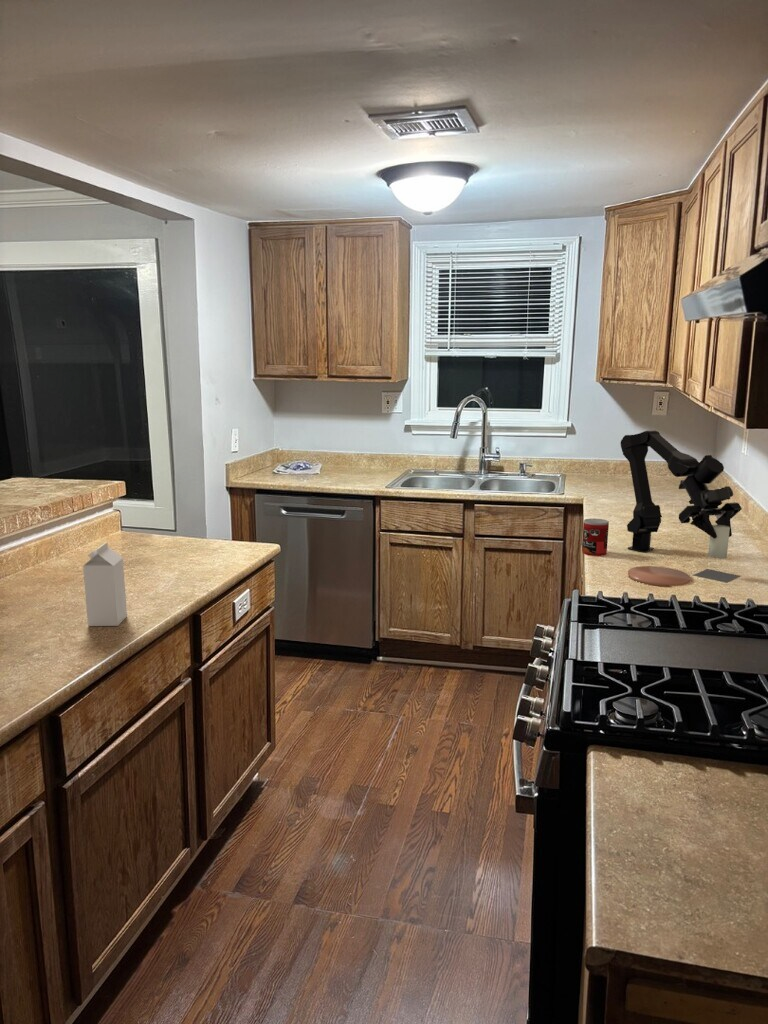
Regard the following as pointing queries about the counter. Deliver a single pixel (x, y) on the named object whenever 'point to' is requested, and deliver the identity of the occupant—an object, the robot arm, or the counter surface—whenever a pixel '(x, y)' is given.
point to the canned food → (595, 537)
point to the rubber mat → (716, 575)
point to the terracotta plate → (658, 576)
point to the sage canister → (719, 542)
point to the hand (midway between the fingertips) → (723, 537)
